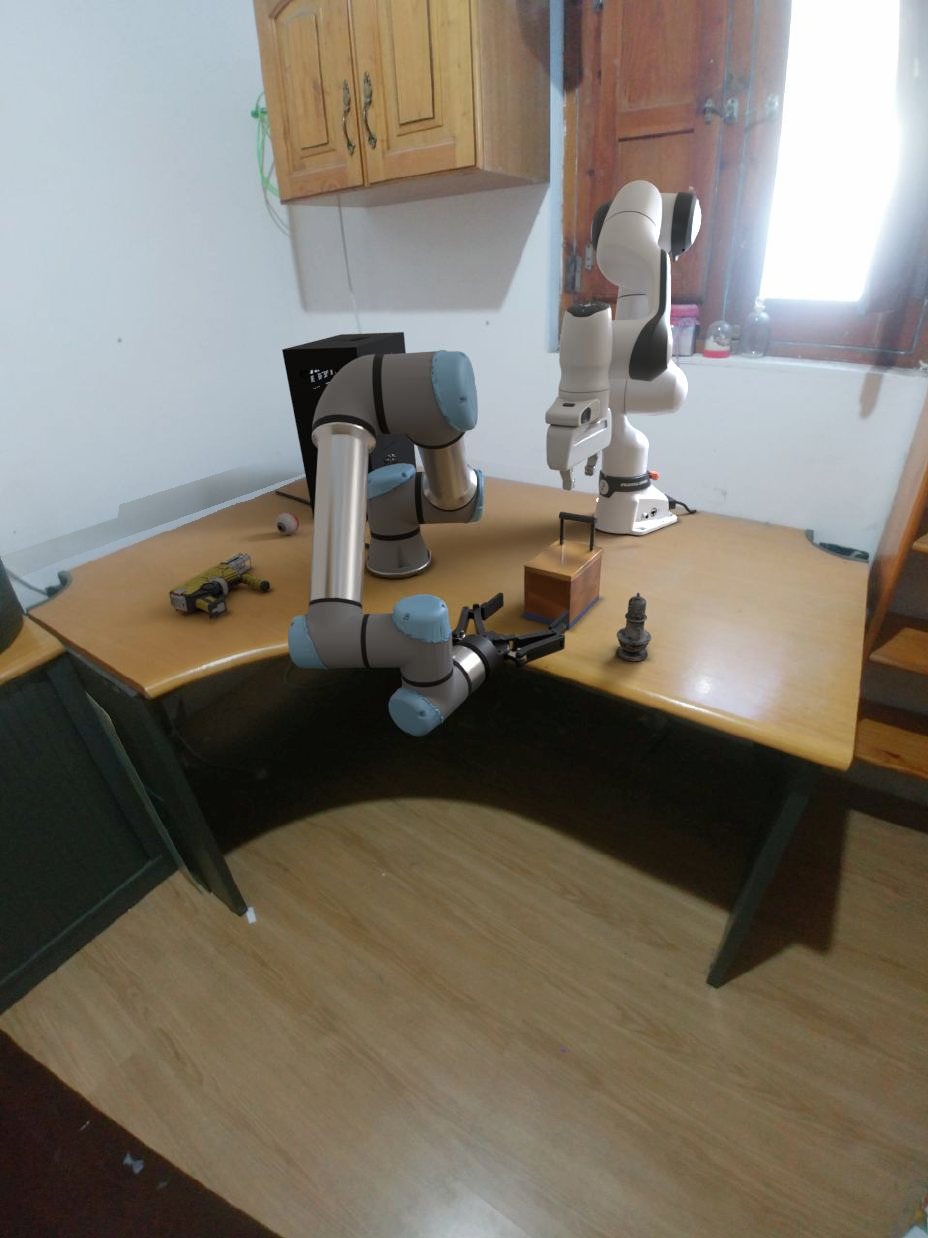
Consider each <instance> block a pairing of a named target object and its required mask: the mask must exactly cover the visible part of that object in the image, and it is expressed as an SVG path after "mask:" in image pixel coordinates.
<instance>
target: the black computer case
mask: <svg viewBox="0 0 928 1238" xmlns="http://www.w3.org/2000/svg"><path fill="white" fill-rule="evenodd" d="M281 352H282V357H283V363H284V368H285V371H286V373H285V374H286V379H287V383H288V389H289V394H290V399H291V405H292V410H293V415H294V421H295V428H296V432H297V437H298V442H299V448H300V453H301V459H302V464H303V465H302V466H303V470H304V475H305V480H306V485H307V491H308V497H309V501H310V502H311V505H310V507H311V512H312V517H313V518H314V509H315V493H316V477H317V461H318V448H317V447H316V446H315V445H314V444H313V441H312V428H313V420H314V415H315V411H316V408H317V405H318V403H319V400H320V398H321V396H322V394H323V392H324V390H325V389H326V387H327V385H328V384H329V382H330V381H331V380H332V378H333V377H334V376H335V375H336V374H337V373H338V372H339V371H340V370H341V369H342V368H343V367H344V366H345V365H347V364H348V363H350V362H351V361H353V360H355V359H357V358H359V357H362V356H366V355H373V354H377V355H385V354H402V353H407V351H406V341H405V332H404V331H397V332H395V331H394V332H371V333H368V332H367V333H343V334H342V333H341V334H338V335H337V334H336V335H333V336H330V337H325V338H321V339H318V340H314V341H310V342H306V343H302V344H298V345H294V346H291V347H286V348H283V349H281ZM415 450H416V449H415V444H413V443H412V442H411V441H410V440H409V439H408V438H407V437H406V435H405V433H401V434H378V435H376V445H375V448H374V450H373V451H372V452H371V453H370V454H369V458H368V474H369V473H371V472H372V471H374V470H377V469H379V468H382V467H385V466H389V465H394V464H402V463H406V464H412V465H413V466H414V468H415V469H416V472H418V470H417V460H416V459H417V458H416V451H415ZM366 520H368V514H367V509H366Z"/></svg>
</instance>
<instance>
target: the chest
mask: <svg viewBox="0 0 928 1238" xmlns="http://www.w3.org/2000/svg"><path fill="white" fill-rule="evenodd" d="M602 557H603V554H602V555H601V556H599V557H598V558H597V559H596V560H595V561H594V562H593V563H592V564H590V565H589V566H588V567H587V568H586V569H585V570H584V571H583V572H581V573H580V574H579V575H578V576H577V577H576V578H575V579H574V580H572V581H571V582H570V581H566V580H561V579H557V578H553V577H549V576H545V575H540V574H536V573H532V572H528V571H524V570H523V599H524V600H523V617H524V618H527V619H530V620H534V621H538V622H541V623H543V624H544V623H545V624H548V625H550V624H551V623H552V622H554V621H555V620H556V619H557V618H558V617H559V616H560V615H561V614H562V613H563V612H564V611H565V610H568V611H570V616H569V625H568V626H567V627H566V630H570V629H571V628H572V627H573V626H574V625H576V623H577V622H579V620H581V618H582V617H583V616H584V615H585V614H586V613H587V612H588V611H589V610H590V609H591V608H592V607H593V606H594V605H595V604H596V603H597V602H598V601H599V600H600V587H601V586H600V585H601V574H602V573H601V571H602Z"/></svg>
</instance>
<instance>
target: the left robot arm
mask: <svg viewBox="0 0 928 1238" xmlns="http://www.w3.org/2000/svg"><path fill="white" fill-rule="evenodd" d="M478 406H479V405H478V392H477V385H476V377H475V372H474V368H473V364H472V361H471V360H470V358H469V356H468V355H467V354H466V353H464V352H463V351H458V350H455V351H454V350H452V351H451V350H449V351H448V350H446V349H440V350H435V351H434V350H433V351H419V352H406V353H402V354H392V353H391V354H385V355H377V354H373V355H366V356H362V357H359V358H357V359H355V360H353V361H351V362H350V363H348V364H347V365H345V366H344V367H343V368H342V369H341V370H340V371H339V372H338V373H337V374H336V375H335V376H334V377H333V378H332V380H331V381H330V382H329V384H328V385H327V387H326V389H325V390H324V392H323V394H322V396H321V398H320V400H319V403H318V405H317V408H316V411H315V415H314V420H313V428H312V441H313V444H314V445H315V446H316V447H317V448H318V461H317V477H316V493H315V509H314V517H313V528H312V543H311V556H310V557H311V559H310V560H311V561H310V575H309V576H310V577H309V591H308V610H307V614H306V613H304V614H302V615H296V616H294V617H293V618H292V619H291V621H290V624H289V626H290V627H289V629H288V632H287V646H288V654H289V656H290V659H291V661H292V663H293V664H295V665H296V666H297V667H298V668H299V669H321V670H325V671H328V670H334V669H337V670H338V669H363V668H365V669H367V668H369V669H370V668H371V669H372V668H373V669H377V668H379V669H381V668H383V669H384V668H399V670H400V677H401V687H399V688H397V689H396V691H395V692H394V693H393V694H392V695H391V697H390V699H389V701H388V712H389V714H390V717H391V719H392V720H393V722H394V723H395V725H396V726H397V727H398V728H399V729H400V730H401V731H403V732H404V733H406V734H409V735H411V736H412V737H424V736H426V735H428V734H429V733H430V732H431V731H432V732H433V730H434V729H436V728H437V727H438V726H440V725H442V724H443V723H444V721H445V720H446V719H447V718H448V717H449V716H450V715H451V714H453V712H454V711H455V710H456V709H458V707H459V706H461V704H463V703H464V702H465V701H466V700H467V699H468V698H469V697H470V696H471V695H472V694H473V693H475V691H476V690H477V689H479V687H481V686H482V685H483V683H485V682H487V680H489V678H490V677H492V676H493V675H494V674H495V673H496V672H497V670H498V669H499V668H500V666H501V665H502V663H504V662H507V661H511V662H514V665H515V667H516V668H517V669H521V668H523V667H525V666H526V665H527V664H529V663H530V662H533V661H536V660H540V659H541V658H544V657H547V656H549V655H552V654H555V653H557V652H560V651H563V650H565V647H566V635H565V634H566V631H567V629H566V627H567V626H568V625H569V616H570V611H568V610H565V611H564V612H563V613H562V614H561V615H560V616H559V617H558V618H557V619H556V620H555V621H554V622H552V623H551V624H548V627H547V629H546V630H541V631H535V632H530V633H525V634H519V635H517V634H516V633H510V634H504V633H498V632H496V631H494V630H488V631H487V630H486V627H485V624H484V622H486V620H488V619H489V618H490V617H492V616H493V615H494V614H495V613H497V612H498V611H500V609H501V608H503V607H504V605H505V604H504V593H503V592H498V593H497V594H496V595H494V596H493V597H492V598H490V599H489V600H488V601H484V602H482V603H481V604H479V603H478V602H476V603H472V608H470V607H469V606H468V605H465V606H462V608H461V612H460V615H459V618H458V622H457V625H456V627H455V628H454V629H453V630H452V627H451V623H450V613H449V609H448V605H447V604H446V603H445V601H444V600H443V599H441V598H440V597H438V596H436V595H431V594H427V593H425V594H424V593H418V594H414V595H413V596H405V597H403V598H401V599H399V600H398V601H397V602H396V603H395V605H394V607H393V609H392V612H390V613H389V612H388V613H363V606H364V585H365V583H364V581H365V561H366V569H367V572H368V573H370V574H371V575H373V576H374V577H377V578H381V579H389V580H392V579H394V580H397V579H405V578H411V577H415V576H417V575H420V574H422V573H424V572H425V571H427V570H428V569H429V568H430V567H431V564H432V558H431V557H432V549H431V548H430V549H428V548H427V546H426V542H425V540H424V537H423V534H422V531H421V525H438V524H439V525H441V524H466V525H467V524H469V523H477V522H479V521H480V520H481V519H482V517H483V513H484V501H485V480H484V474H483V471H482V470H481V469H476V468H473V467H472V466H471V465H470V464H469V463H468V458H467V451H466V445H465V435H466V432H468V431H472V430H474V429H475V428H476V426H477V424H478V418H479V417H478V415H479V414H478V413H479V412H478V411H479V407H478ZM401 433H405V435H406V437H407V438H408V439H409V440H410V441H411V442H412V443H413V444H414V446H416V448H417V450H418V453H419V457H420V460H421V463H422V466H423V470H424V471H417V472H416V470H417V468H416V469H415V468H414V466H413V465H412V464H406V463H402V464H394V465H389V466H385V467H382V468H379V469H377V470H374V471H372V472H371V473H369V474H368V458H369V454H370V453H371V452H372V451H373V450H374V448H375V445H376V435H378V434H401ZM275 494H277V495H280V496H283V497H287V498H289V499H293V500H296V501H299V502H302V503H304V504H307V505H309V506H311V502H310V500H307V499H304V498H301V497H299V496H296V495H292V494H290V493H289V494H288V493H286V492H283V491H280V490H275ZM366 509H367V514H368V519H366ZM367 521H368V528H369V534H370V539H369V543H366V533H367V531H366V530H367ZM366 548H368V551H367V556H366ZM365 556H366V557H365ZM365 558H366V560H365ZM470 620H473V627H474V631H475V633H470V634H467V631H468V628H469V624H470ZM483 621H484V622H483ZM510 642H512V643H510ZM511 644H512V645H511ZM511 646H512V647H511Z"/></svg>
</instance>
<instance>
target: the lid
mask: <svg viewBox="0 0 928 1238" xmlns="http://www.w3.org/2000/svg"><path fill="white" fill-rule="evenodd" d="M558 518H559V538H558V540H556V541H555V542H553V543H552V544H551V545H549V546H548V547H547V548H546V549H544V550H543V551H541V552H540V553H539V554H538V555H536V556H534V557H533V558H532V559H531V560H530V561H528V562H527V563H526V564H524V565H523V572H524V571H528V572H532V573H536V574H540V575H545V576H549V577H553V578H557V579H561V580H566V581H570V582H571V581H572V580H574V579H575V578H576V577H577V576H578V575H579V574H580V573H581V572H583V571H584V570H585V569H586V568H587V567H588V566H589V565H590V564H592V563H593V562H594V561H595V560H596V559H597V558H598V557H599V556H601V555H602V556H603V554H604V552H605V547H602V546H597V545H595V537H596V528H595V525H596V523H597V518H596V517H594V516H589V515H584V514H578V513H573V512H567V511H559V514H558ZM566 521H571V522H575V523H581V524H586V525H590V533H589V544H587V543H582V542H577V541H572V540H567V539H565V528H566V527H565V525H566Z"/></svg>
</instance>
